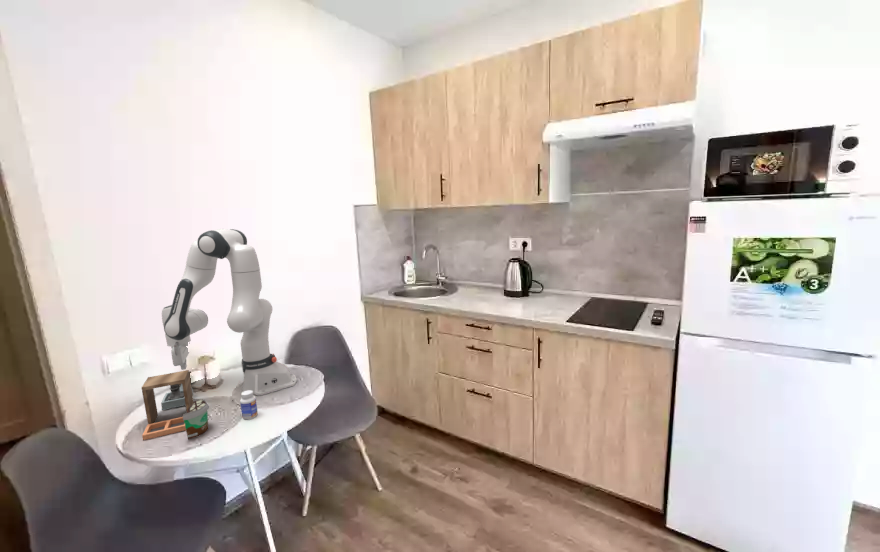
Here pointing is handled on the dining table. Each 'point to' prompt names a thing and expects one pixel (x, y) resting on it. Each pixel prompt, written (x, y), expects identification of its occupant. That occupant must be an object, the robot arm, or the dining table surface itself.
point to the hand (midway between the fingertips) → (184, 368)
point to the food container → (196, 418)
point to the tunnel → (161, 382)
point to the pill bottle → (248, 405)
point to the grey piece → (174, 403)
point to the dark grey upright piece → (175, 392)
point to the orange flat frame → (164, 428)
